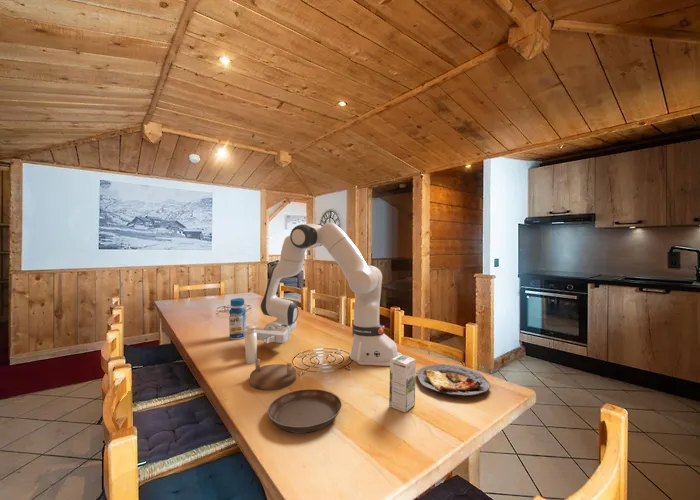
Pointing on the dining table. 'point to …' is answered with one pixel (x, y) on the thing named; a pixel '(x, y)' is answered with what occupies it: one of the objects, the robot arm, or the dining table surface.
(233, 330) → the beverage bottle
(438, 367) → the food plate
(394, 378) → the syrup box
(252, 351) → the bud vase
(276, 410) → the plant saucer
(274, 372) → the pedestal
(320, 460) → the dining table surface
